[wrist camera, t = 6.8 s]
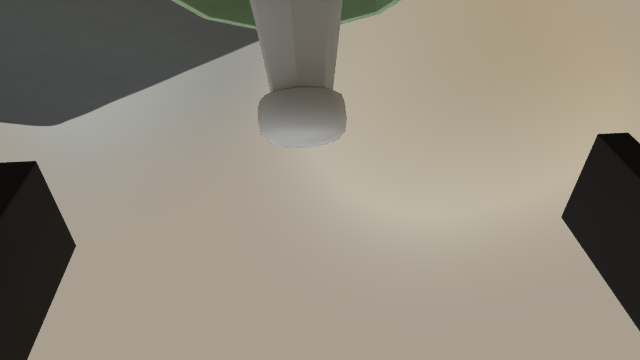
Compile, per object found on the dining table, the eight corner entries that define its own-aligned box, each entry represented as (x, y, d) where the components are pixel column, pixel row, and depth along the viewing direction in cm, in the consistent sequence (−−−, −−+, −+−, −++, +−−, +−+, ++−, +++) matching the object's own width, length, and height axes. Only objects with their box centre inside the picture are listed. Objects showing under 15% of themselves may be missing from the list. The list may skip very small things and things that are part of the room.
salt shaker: (347, -76, 27) (362, 149, 26) (248, -65, 28) (259, 157, 26) (343, -158, 21) (363, 127, 20) (218, -142, 22) (229, 137, 20)
